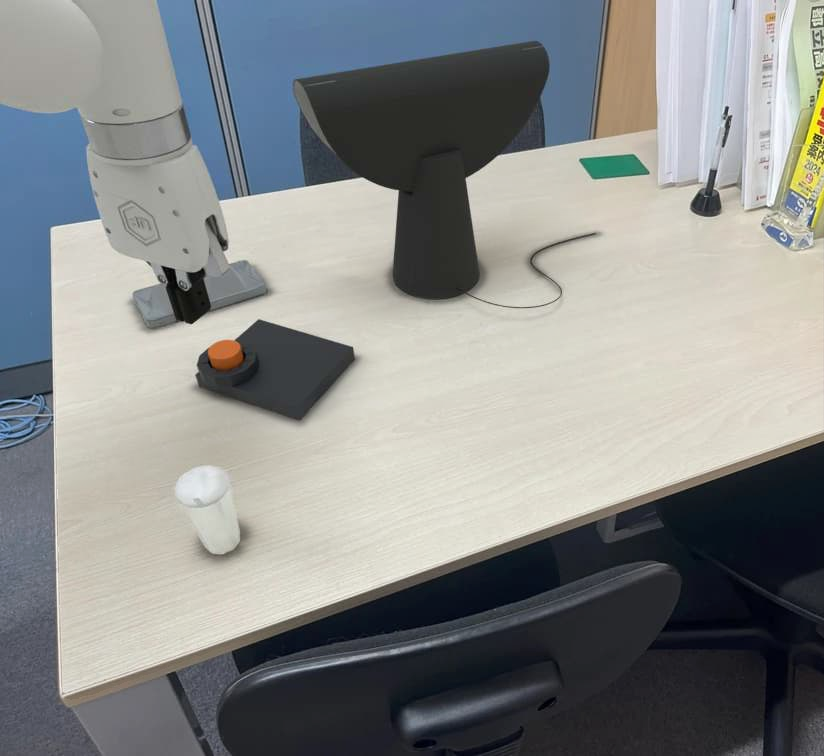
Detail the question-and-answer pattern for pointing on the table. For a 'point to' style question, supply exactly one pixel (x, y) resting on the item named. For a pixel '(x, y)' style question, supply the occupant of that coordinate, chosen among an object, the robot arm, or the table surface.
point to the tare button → (225, 354)
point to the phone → (220, 290)
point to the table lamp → (429, 146)
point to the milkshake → (210, 507)
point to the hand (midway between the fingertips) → (194, 314)
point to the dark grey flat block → (278, 369)
